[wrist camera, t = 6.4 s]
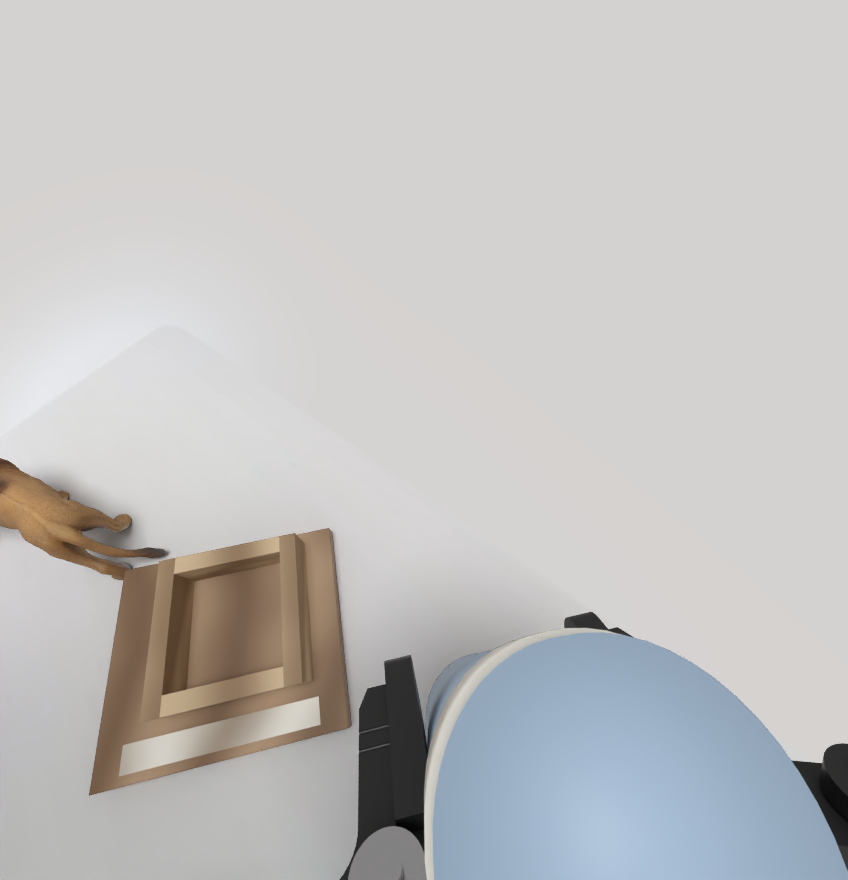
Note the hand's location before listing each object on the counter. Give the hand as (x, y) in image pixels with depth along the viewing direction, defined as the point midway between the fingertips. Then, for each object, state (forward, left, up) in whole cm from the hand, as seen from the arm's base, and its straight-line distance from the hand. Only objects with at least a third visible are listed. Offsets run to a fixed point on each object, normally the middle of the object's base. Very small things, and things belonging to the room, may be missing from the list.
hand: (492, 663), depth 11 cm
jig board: (-14, +4, -17) cm, 22 cm away
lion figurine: (-26, +14, -17) cm, 34 cm away
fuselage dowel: (0, -2, -6) cm, 6 cm away
